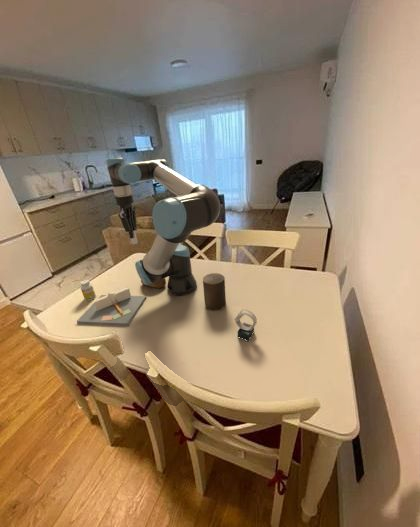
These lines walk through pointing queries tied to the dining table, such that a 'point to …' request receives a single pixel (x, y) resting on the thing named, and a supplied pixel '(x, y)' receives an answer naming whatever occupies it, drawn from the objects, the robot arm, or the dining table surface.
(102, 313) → the grey tray
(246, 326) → the watch
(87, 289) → the supplement bottle
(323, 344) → the dining table surface
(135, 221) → the robot arm
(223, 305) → the pillar candle
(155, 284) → the bread roll
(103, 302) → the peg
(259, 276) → the dining table surface
